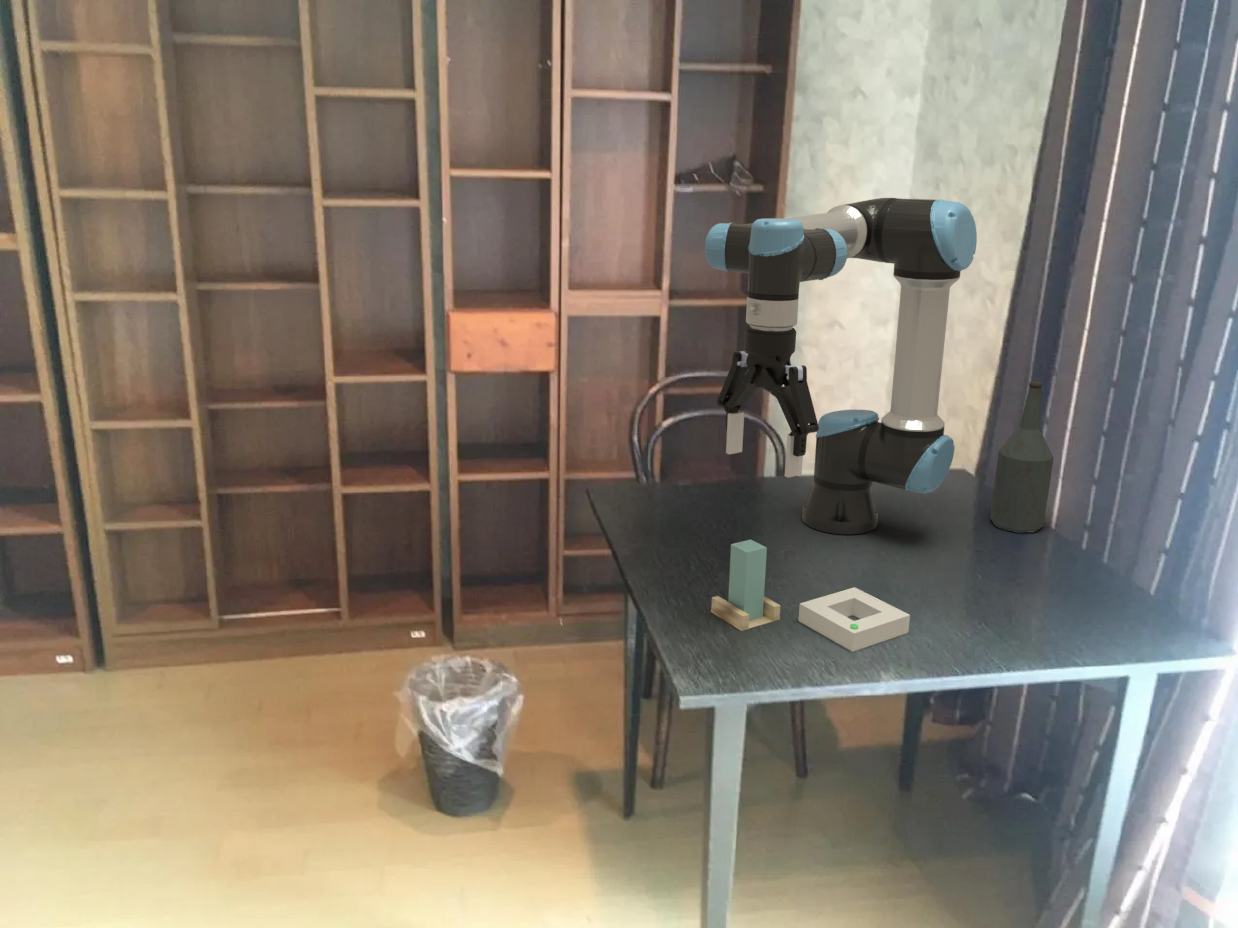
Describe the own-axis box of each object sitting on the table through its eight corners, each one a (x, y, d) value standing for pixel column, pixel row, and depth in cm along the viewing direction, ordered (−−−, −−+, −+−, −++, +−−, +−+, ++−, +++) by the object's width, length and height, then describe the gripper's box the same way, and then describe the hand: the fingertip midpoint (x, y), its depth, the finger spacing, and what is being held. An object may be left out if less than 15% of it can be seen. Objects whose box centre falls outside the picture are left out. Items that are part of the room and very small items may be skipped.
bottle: (1047, 536, 204) (1069, 389, 194) (995, 532, 205) (1015, 386, 196) (1035, 517, 213) (1055, 377, 204) (986, 514, 215) (1004, 375, 206)
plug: (727, 612, 165) (731, 544, 162) (746, 607, 167) (750, 539, 164) (743, 622, 162) (747, 552, 158) (762, 616, 164) (766, 547, 161)
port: (797, 629, 164) (799, 601, 162) (852, 611, 170) (854, 585, 168) (851, 660, 154) (854, 631, 152) (907, 640, 160) (910, 613, 159)
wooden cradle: (709, 619, 166) (710, 597, 165) (748, 608, 171) (749, 587, 169) (740, 639, 160) (742, 616, 159) (779, 627, 164) (781, 605, 163)
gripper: (698, 316, 159) (693, 447, 165) (811, 342, 139) (801, 490, 145) (735, 312, 163) (729, 440, 169) (851, 337, 143) (838, 481, 149)
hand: (762, 463), depth 157 cm, fingers open, 13 cm apart
